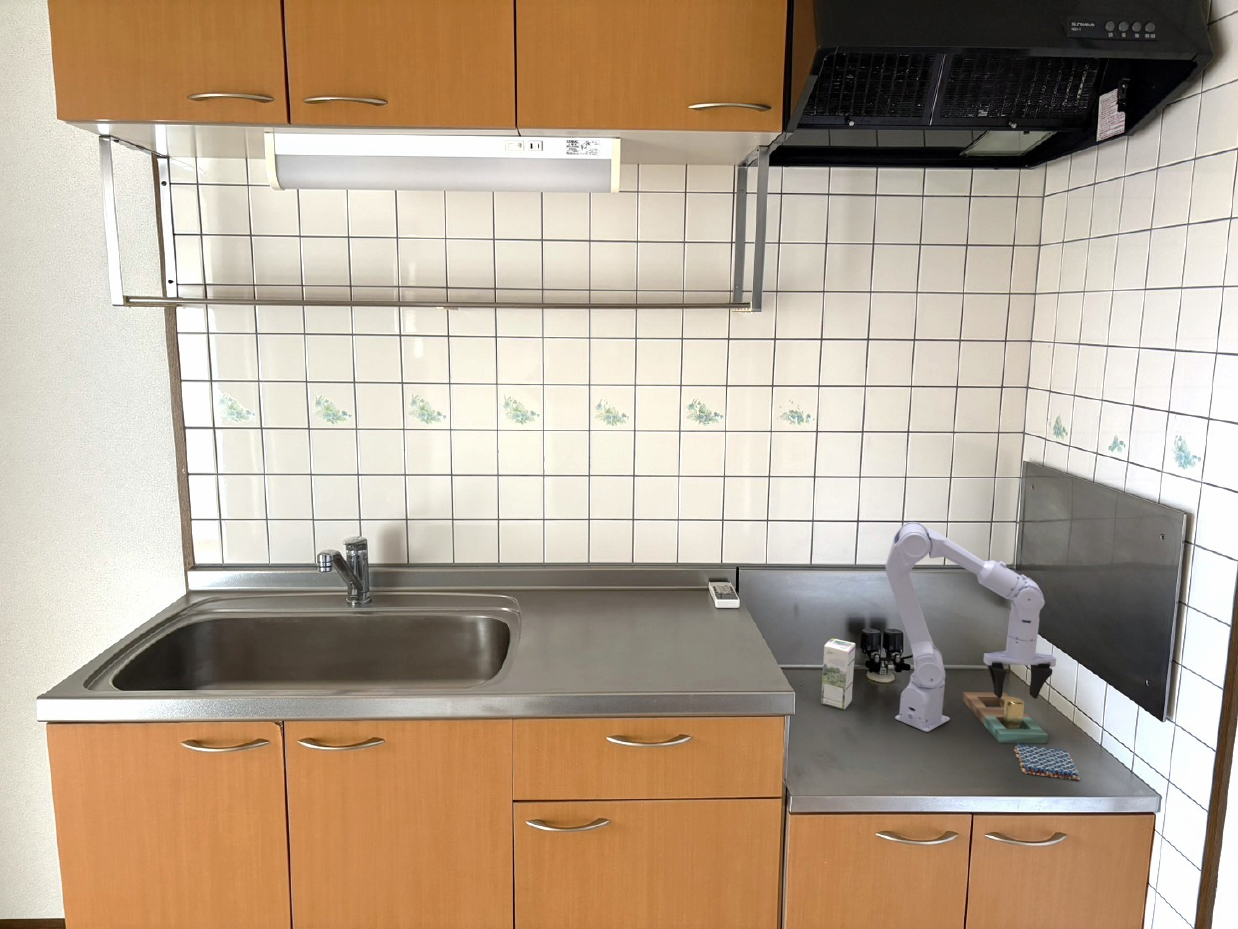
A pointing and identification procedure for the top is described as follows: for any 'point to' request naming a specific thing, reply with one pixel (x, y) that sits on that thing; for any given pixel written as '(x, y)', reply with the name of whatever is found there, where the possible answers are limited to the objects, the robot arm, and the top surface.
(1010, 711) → the brass pin
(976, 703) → the docking plate
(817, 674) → the top surface
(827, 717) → the top surface
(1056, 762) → the woven mat
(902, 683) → the top surface
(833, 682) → the syrup box
